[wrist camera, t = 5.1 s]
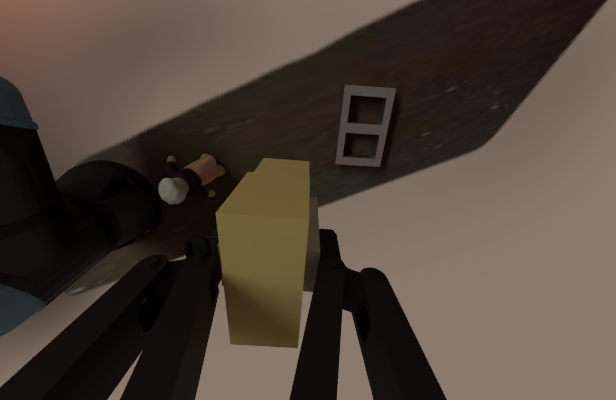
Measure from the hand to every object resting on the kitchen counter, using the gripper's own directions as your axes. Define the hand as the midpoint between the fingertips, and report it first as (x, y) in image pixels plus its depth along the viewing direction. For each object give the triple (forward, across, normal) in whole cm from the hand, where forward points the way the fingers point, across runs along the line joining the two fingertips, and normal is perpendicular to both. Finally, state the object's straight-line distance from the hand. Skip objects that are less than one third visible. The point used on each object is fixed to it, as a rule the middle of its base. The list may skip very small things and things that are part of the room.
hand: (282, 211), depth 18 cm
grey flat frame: (+21, +10, +4) cm, 23 cm away
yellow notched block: (+2, 0, 0) cm, 2 cm away
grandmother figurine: (+21, -14, -3) cm, 26 cm away
